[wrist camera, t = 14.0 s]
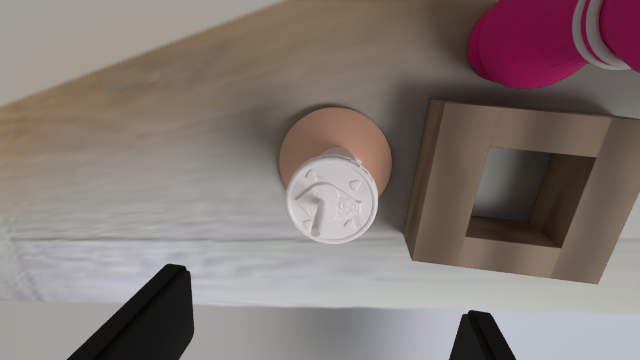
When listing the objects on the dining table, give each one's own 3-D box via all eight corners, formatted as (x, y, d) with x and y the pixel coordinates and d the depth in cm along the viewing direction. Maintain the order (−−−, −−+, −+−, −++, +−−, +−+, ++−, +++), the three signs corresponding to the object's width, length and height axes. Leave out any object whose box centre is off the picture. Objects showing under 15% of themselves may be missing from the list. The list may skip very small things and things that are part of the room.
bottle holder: (614, 115, 27) (670, 123, 22) (560, 253, 31) (597, 284, 26) (429, 98, 28) (445, 102, 23) (403, 234, 32) (411, 260, 28)
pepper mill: (443, 45, 26) (674, -42, 7) (515, -27, 24) (1095, -405, 5) (496, 105, 27) (816, 160, 8) (570, 40, 25) (1216, -77, 6)
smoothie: (306, 129, 29) (268, 171, 16) (374, 135, 28) (394, 184, 15) (303, 192, 31) (266, 276, 18) (366, 199, 30) (377, 291, 17)
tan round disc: (399, 112, 28) (400, 113, 27) (381, 218, 32) (382, 222, 31) (283, 101, 29) (281, 102, 28) (279, 206, 33) (276, 210, 32)
